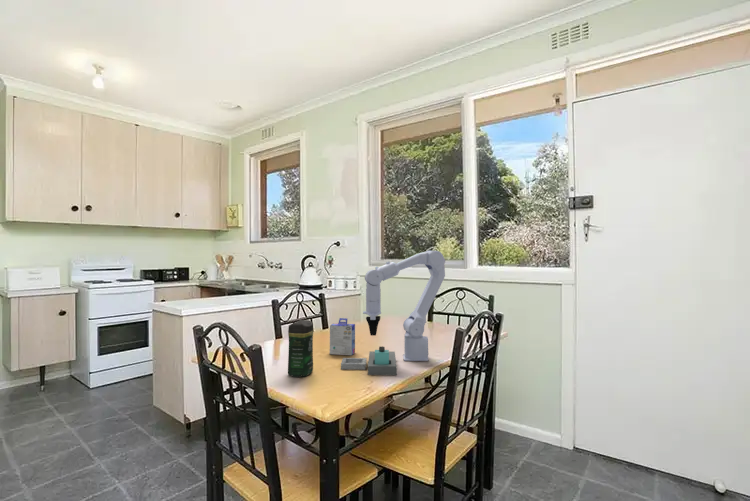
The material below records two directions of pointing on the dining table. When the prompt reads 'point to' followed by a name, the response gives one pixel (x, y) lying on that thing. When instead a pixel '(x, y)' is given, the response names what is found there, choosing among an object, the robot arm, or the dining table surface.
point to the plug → (381, 356)
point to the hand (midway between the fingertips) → (373, 335)
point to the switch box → (382, 365)
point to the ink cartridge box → (342, 338)
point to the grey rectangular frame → (353, 364)
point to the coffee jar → (300, 348)
